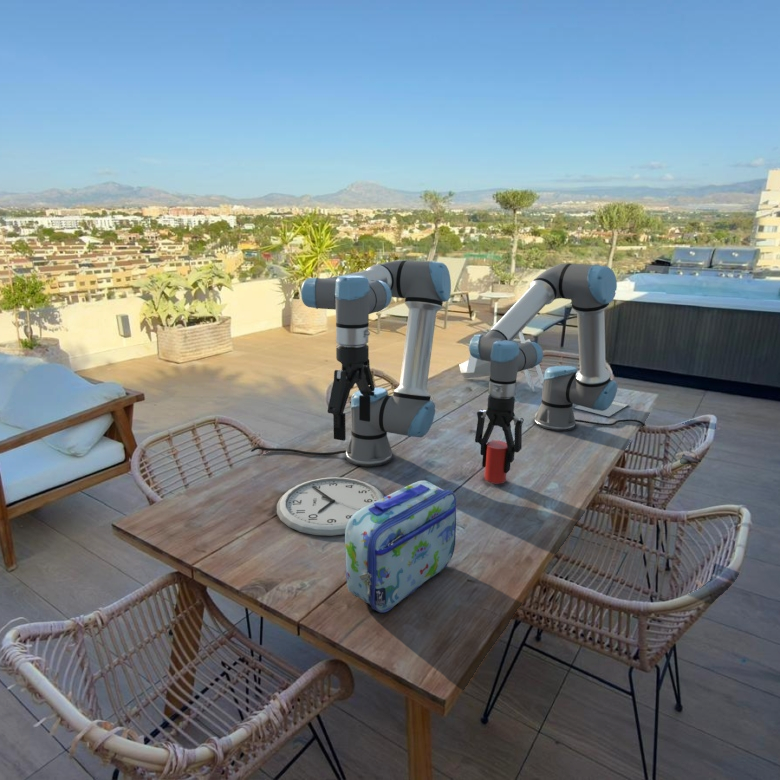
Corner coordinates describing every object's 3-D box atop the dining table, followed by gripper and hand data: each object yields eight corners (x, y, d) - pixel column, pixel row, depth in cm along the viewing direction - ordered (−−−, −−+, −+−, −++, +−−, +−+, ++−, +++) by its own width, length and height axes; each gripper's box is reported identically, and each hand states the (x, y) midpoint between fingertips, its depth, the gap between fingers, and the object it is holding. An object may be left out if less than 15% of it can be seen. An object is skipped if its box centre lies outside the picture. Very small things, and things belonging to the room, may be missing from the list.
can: (480, 478, 158) (482, 444, 154) (492, 472, 162) (494, 438, 159) (498, 485, 154) (501, 450, 150) (509, 478, 158) (512, 444, 154)
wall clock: (392, 527, 129) (268, 531, 127) (391, 533, 130) (269, 537, 127) (383, 473, 158) (282, 475, 155) (383, 478, 158) (282, 480, 156)
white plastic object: (480, 420, 263) (459, 397, 239) (461, 347, 286) (440, 319, 261) (551, 396, 251) (537, 369, 226) (526, 322, 273) (511, 290, 249)
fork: (417, 411, 216) (418, 406, 216) (428, 400, 231) (428, 395, 230) (423, 412, 215) (424, 407, 215) (434, 400, 230) (434, 396, 229)
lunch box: (374, 626, 100) (375, 530, 93) (338, 598, 107) (337, 508, 101) (459, 568, 117) (465, 484, 111) (424, 547, 124) (427, 467, 118)
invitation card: (608, 416, 214) (573, 407, 224) (608, 416, 214) (573, 408, 224) (628, 404, 229) (594, 396, 238) (628, 405, 229) (594, 397, 238)
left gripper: (341, 357, 109) (342, 451, 115) (388, 336, 131) (386, 415, 137) (310, 353, 111) (313, 445, 118) (361, 333, 133) (361, 411, 140)
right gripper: (465, 392, 152) (461, 464, 159) (529, 405, 142) (522, 481, 149) (476, 386, 158) (472, 455, 165) (538, 397, 147) (531, 471, 155)
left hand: (352, 429), depth 127 cm, fingers open, 13 cm apart
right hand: (495, 468), depth 157 cm, fingers closed on can, 6 cm apart
